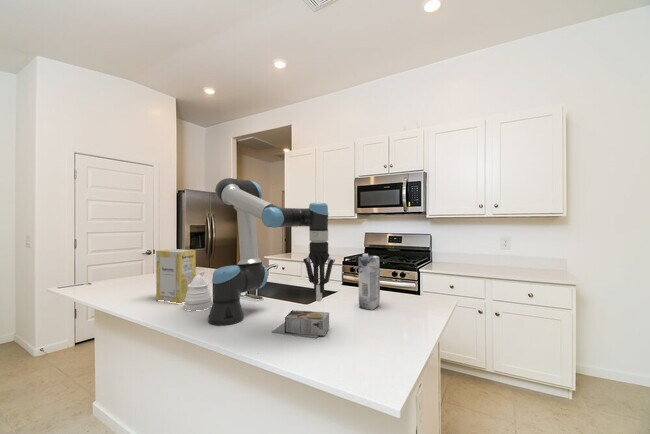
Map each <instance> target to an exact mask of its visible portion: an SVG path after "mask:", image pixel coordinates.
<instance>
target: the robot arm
mask: <svg viewBox="0 0 650 434" xmlns="http://www.w3.org/2000/svg"><path fill="white" fill-rule="evenodd" d="M214 191H215V192H214V193H215V196H216V198H217V199H218V200H219V201H220V202H222V203H223V204H226V205H228V206H231V205H232V206H233V209H234V210H235V211H236V213H237V231H238V241H239V244H238V245H239V259H240V260H239V261H238V262H237V265H236V264H235V265H234V264H233V265H226V266H221V267H219V268H216V269H215V270H214V271H213V272H212V279H211V282H212V283H211V284H212V307H211V308H210V311H209V315H208V316H207V317H208V323H209V324H210V325H214V326H228V325H233V324H237V323H239V322H240V323H241V321H243V320H244V318H245V313H244V312H245V311H244V310H243V306H242V304H241V298H240V297H241V294H242V293H246V292H247V293H248V292H251V291H256V290H258V289H259V290H260V289H261V288H263V287H264V286H266V284H267V282H268V277H269V273H268V269H267V267H266V265H264V264H263V260H261V259H260V258H259V248H258V233H257V219H260V221H261V222H262V224H263V225H264V226H265V227H267V228H274V229H275V228H285V227H286V228H289V227H292V228H293V227H296V228H297V227H309V229H308V230H309V234H308V235H309V237H308V238H309V241H310V242H309V245H308V246H309V254H308V256H306V257H305V258H303V259H302V260H303V263H304V264H305V268H306V273H307V276H308V281H309V283H310V284H311V283H312V284H313V292H314V293H316V294H315V299H316V300H315V302H318V303H319V302H322V300H323V293H325V284H327V283H329V282H330V277H331V273H332V269H333V265H334V263H335V261H336V260H335V259H334V258H332V257H330V254H329V242H328V241H329V207H328V206H329V205H328V204H327V203H326V202H311V203H309V204H308V205H309V207H308V208H305V207H304V208H301V207H300V208H297V207H296V208H295V207H294V208H293V207H292V208H290V207H279V206H277V205H275V204H273V203H271V202H269V201H267V200H264V199H262V197H263V191H262V188H261V185H259V184H258V183H257V182H255V181H252V180H249V179H238V178H233V177H232V178H230V177H227V178H224V179H221V180H219V181H218V183H217V184H216V186H215V189H214ZM256 218H257V219H256ZM311 263H312V265H311ZM326 263H328V264H327V266H326ZM325 267H327V268H326V272H325Z"/></svg>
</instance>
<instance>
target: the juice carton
mask: <svg viewBox="0 0 650 434" xmlns="http://www.w3.org/2000/svg"><path fill="white" fill-rule="evenodd" d="M357 265H358V266H357V267H358V305H359V309H364V310H371V311H373V310H375V309H376V308H377V307H379V306H380V301H381V299H380V298H381V293H380V292H381V287H380V286H381V283H380V281H381V280H380V278H381V276H380V256H377V255H369V253H363V254H362V256H358V263H357Z"/></svg>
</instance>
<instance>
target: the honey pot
mask: <svg viewBox="0 0 650 434" xmlns="http://www.w3.org/2000/svg"><path fill="white" fill-rule="evenodd" d="M204 275H205V271H199V272H198V274H197V275H196V276H195V277H194V278H193V280H192V282H191V284H189V285H188V287H189V289H188V291H187V294H186V297H185V301H184V302H185V303H184V308H185V309H186V310H191V311H190V312H197V311H196V310H202V311H205V310H204V309H206V310H208V309H207V308H209V309H211V308H210V307H211V306H212V304H213V295H211V291H210V289H209V284H210V283H208V282H206V280H205V279H204V277H203V276H204ZM185 309H184V310H185ZM186 310H185V311H186Z"/></svg>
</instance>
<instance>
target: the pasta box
mask: <svg viewBox="0 0 650 434" xmlns="http://www.w3.org/2000/svg"><path fill="white" fill-rule="evenodd" d="M196 254H197V252H196V249H195V250H194V249H183V248H181V249H178V248H171V249H163V250H162V249H161V250H156V251H155V255H156V258H155V261H156V262H155V267H156V268H155V269H156V270H155V274H156V277H155V278H156V279H155V280H156V281H155V283H156V284H155V285H156V287H155V288H156V292H155V293H156V296H155V298H156V299H157V300H164V301H170V302H176V303H182V302H184V301H185V297H186V294H187V291H188V289H189V287H188V285H189V284H191V282H192V280H193V278H194V277H195V276H197V275H196V273H197V270H196V269H197V267H196V264H197V263H196V260H197V257H196Z"/></svg>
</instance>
